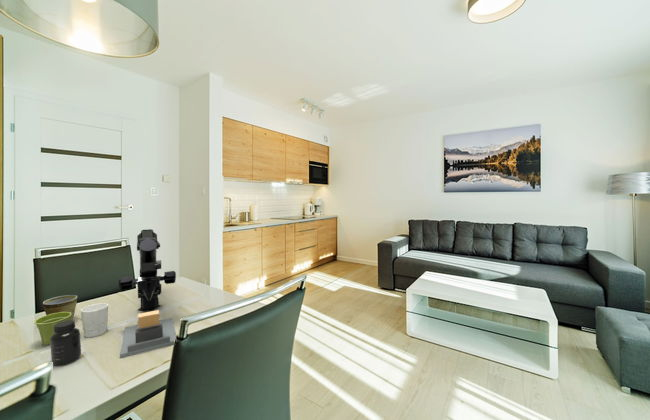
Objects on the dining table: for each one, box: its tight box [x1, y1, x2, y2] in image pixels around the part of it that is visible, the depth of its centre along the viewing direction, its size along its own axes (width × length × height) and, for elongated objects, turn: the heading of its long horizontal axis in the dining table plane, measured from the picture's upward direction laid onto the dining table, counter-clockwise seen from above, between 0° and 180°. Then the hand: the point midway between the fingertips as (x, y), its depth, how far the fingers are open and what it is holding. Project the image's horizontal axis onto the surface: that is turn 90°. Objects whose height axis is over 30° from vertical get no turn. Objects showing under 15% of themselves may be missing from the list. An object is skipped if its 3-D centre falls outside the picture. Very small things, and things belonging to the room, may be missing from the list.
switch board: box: [119, 317, 177, 359], centre depth 100 cm, size 21×16×5 cm
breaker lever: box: [137, 309, 161, 330], centre depth 95 cm, size 2×7×7 cm
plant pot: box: [33, 312, 71, 346], centre depth 97 cm, size 9×9×9 cm
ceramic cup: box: [42, 294, 78, 320], centre depth 110 cm, size 13×10×10 cm
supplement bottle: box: [49, 319, 82, 367], centre depth 86 cm, size 7×7×12 cm
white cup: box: [80, 302, 109, 338], centre depth 102 cm, size 8×8×10 cm
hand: (149, 300), depth 103 cm, fingers closed
